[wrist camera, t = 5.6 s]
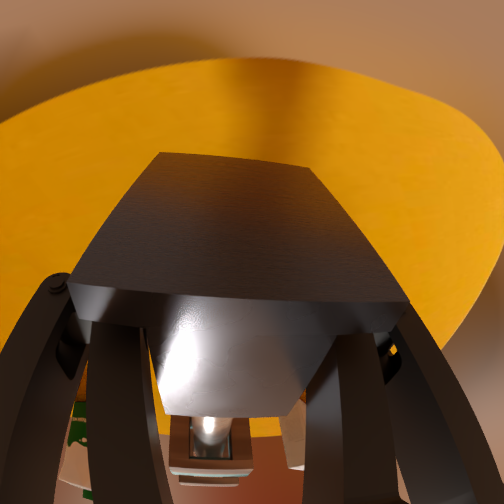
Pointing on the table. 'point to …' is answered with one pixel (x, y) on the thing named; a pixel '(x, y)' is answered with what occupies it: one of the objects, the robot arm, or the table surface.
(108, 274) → the shaft
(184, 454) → the bearing stand
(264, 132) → the table surface
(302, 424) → the skincare box
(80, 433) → the milk carton
